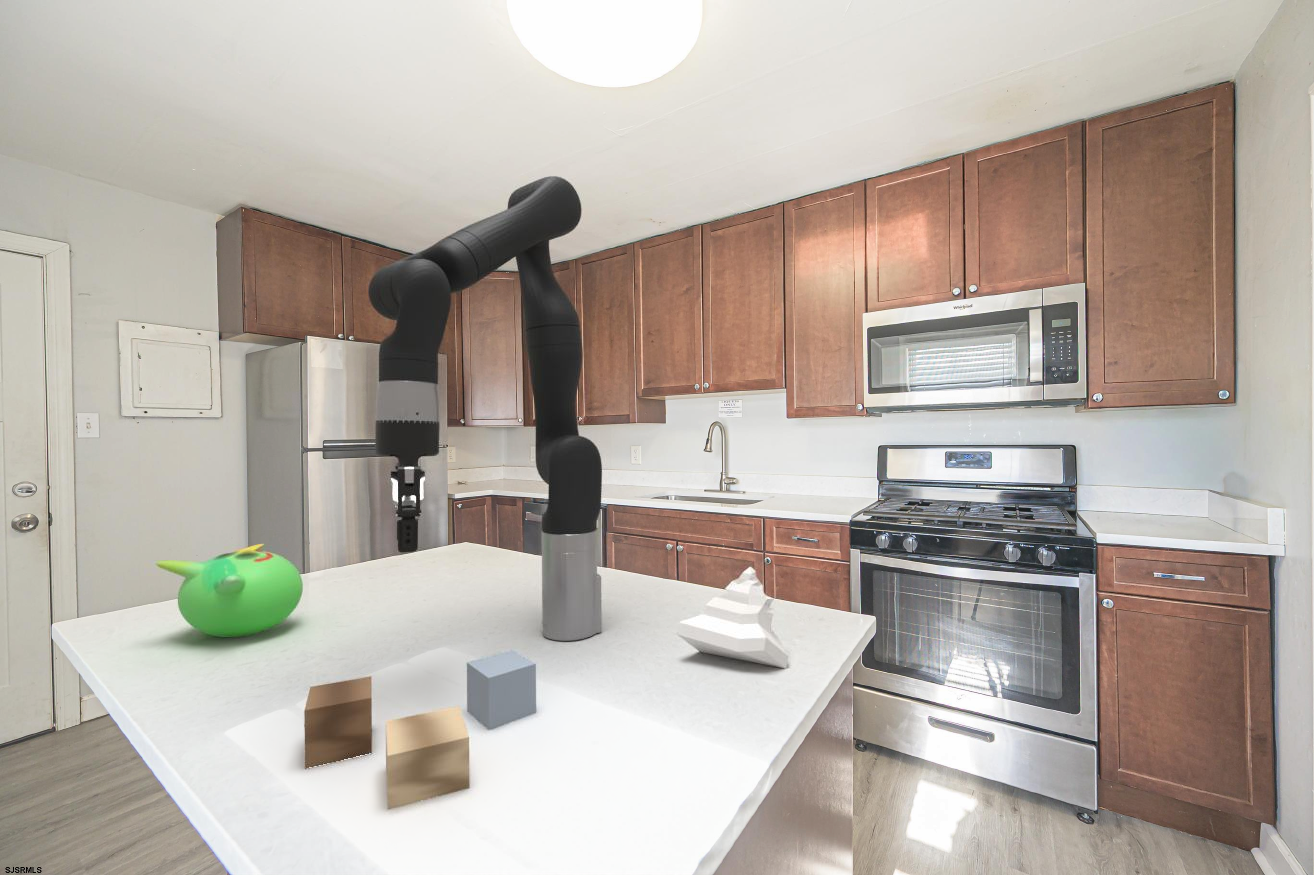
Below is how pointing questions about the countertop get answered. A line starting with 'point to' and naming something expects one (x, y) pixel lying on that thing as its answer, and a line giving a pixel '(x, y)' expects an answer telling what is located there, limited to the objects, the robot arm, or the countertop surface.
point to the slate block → (501, 688)
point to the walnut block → (338, 721)
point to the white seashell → (737, 625)
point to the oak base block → (426, 756)
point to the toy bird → (237, 591)
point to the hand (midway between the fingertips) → (406, 546)
